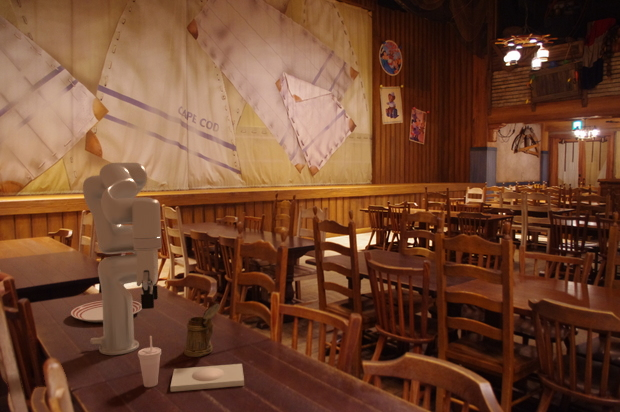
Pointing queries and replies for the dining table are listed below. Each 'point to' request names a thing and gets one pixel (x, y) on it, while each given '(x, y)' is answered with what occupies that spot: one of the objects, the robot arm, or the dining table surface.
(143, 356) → the smoothie
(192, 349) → the wooden mug
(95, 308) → the dinner plate
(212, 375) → the serving board
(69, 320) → the dining table surface
